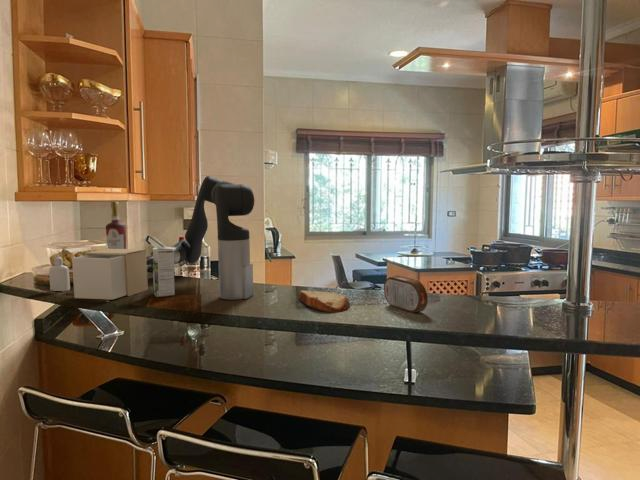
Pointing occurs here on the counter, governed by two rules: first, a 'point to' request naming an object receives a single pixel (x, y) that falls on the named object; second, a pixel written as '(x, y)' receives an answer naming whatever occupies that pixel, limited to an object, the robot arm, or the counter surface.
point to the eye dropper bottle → (59, 276)
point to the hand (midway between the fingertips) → (137, 264)
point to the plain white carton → (99, 276)
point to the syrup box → (163, 271)
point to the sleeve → (131, 267)
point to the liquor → (116, 230)
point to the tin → (405, 293)
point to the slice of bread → (324, 301)
